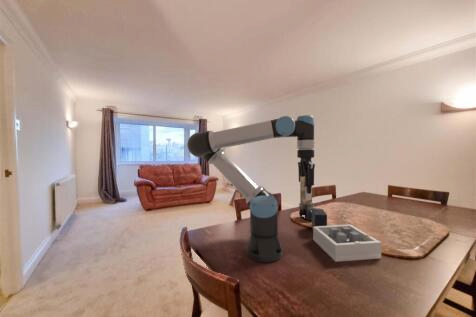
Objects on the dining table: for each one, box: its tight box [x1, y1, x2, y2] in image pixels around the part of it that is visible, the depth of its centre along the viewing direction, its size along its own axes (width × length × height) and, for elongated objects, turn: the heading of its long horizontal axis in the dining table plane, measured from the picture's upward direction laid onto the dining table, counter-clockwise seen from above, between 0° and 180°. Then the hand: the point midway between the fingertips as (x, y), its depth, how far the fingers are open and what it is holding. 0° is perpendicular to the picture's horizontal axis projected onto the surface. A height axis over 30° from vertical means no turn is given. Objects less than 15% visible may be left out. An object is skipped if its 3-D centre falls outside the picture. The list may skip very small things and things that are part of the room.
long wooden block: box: [298, 176, 314, 210], centre depth 95 cm, size 6×6×15 cm
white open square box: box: [312, 224, 382, 263], centre depth 88 cm, size 19×19×7 cm
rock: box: [298, 205, 317, 221], centre depth 125 cm, size 11×10×10 cm
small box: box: [311, 208, 328, 230], centre depth 108 cm, size 11×6×10 cm, turn 168°
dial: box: [328, 227, 361, 243], centre depth 88 cm, size 13×14×6 cm
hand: (306, 198), depth 95 cm, fingers closed on long wooden block, 4 cm apart
